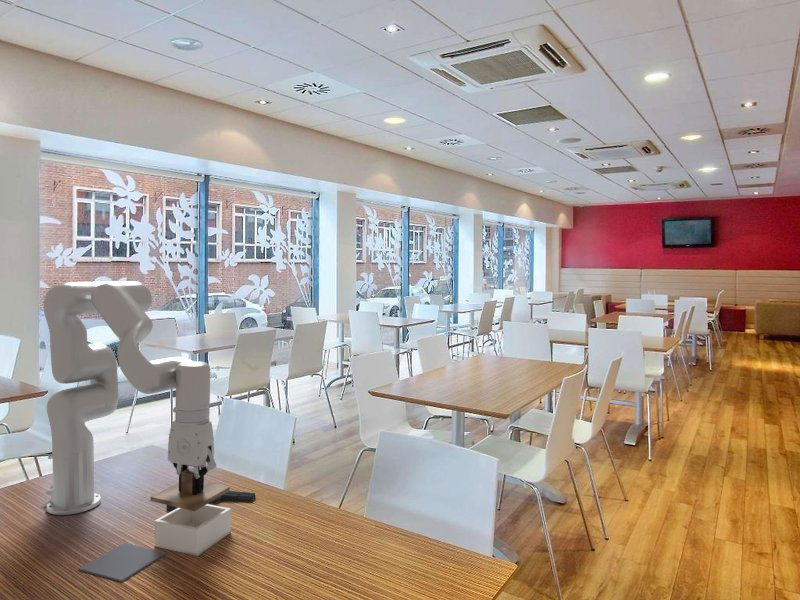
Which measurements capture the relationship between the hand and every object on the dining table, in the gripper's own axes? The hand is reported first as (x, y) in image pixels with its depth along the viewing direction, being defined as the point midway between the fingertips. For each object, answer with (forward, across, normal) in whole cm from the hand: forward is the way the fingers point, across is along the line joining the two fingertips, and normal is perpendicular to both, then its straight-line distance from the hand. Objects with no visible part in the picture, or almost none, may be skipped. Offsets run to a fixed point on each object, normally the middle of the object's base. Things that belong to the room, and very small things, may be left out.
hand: (191, 490), depth 133 cm
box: (+12, +1, 0) cm, 12 cm away
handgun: (+13, -8, +18) cm, 23 cm away
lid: (+1, 0, 0) cm, 1 cm away
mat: (+12, -6, -14) cm, 19 cm away
